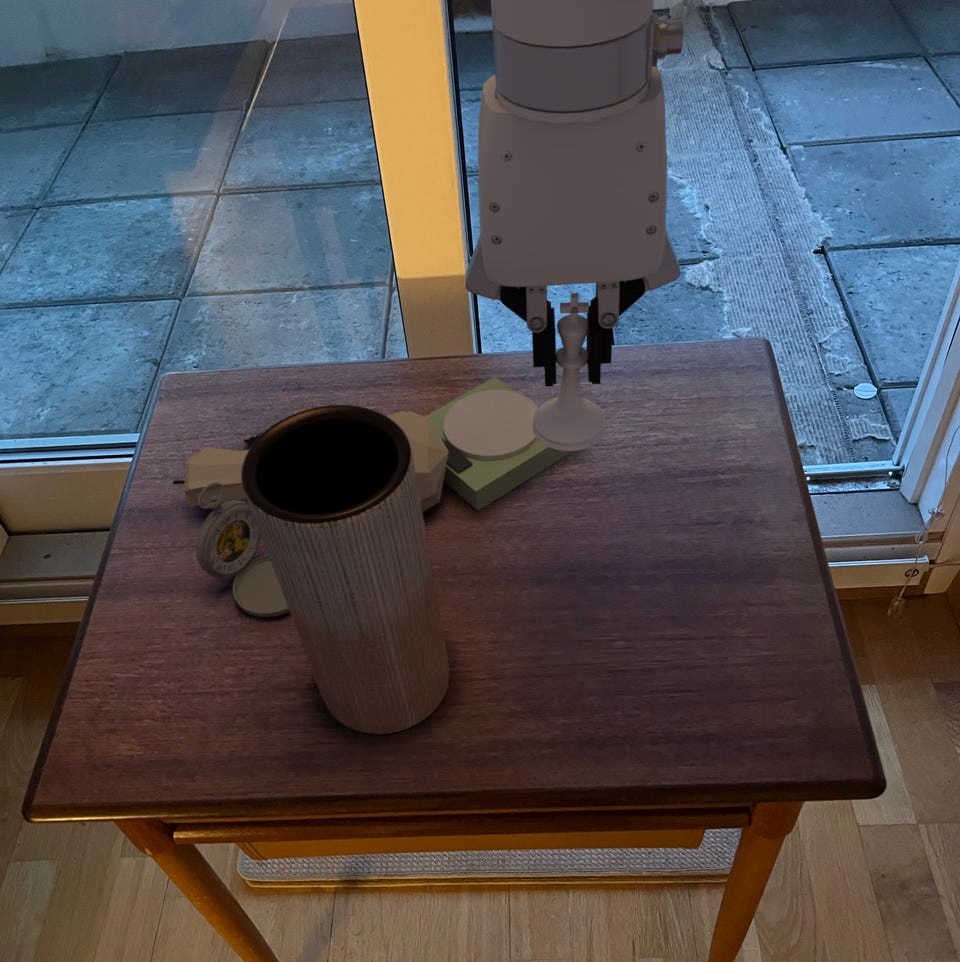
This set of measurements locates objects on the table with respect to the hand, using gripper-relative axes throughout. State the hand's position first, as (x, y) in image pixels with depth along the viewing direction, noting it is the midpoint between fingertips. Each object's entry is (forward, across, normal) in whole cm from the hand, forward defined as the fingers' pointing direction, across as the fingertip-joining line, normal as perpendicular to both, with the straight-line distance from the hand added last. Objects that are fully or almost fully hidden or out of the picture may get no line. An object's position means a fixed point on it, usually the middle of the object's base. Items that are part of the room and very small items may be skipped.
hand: (571, 369), depth 60 cm
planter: (+21, +15, +9) cm, 27 cm away
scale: (+21, +7, -17) cm, 28 cm away
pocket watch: (+21, +26, -2) cm, 33 cm away
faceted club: (+21, +22, -12) cm, 33 cm away
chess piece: (+5, 0, 0) cm, 5 cm away
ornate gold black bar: (+21, +26, -20) cm, 40 cm away
